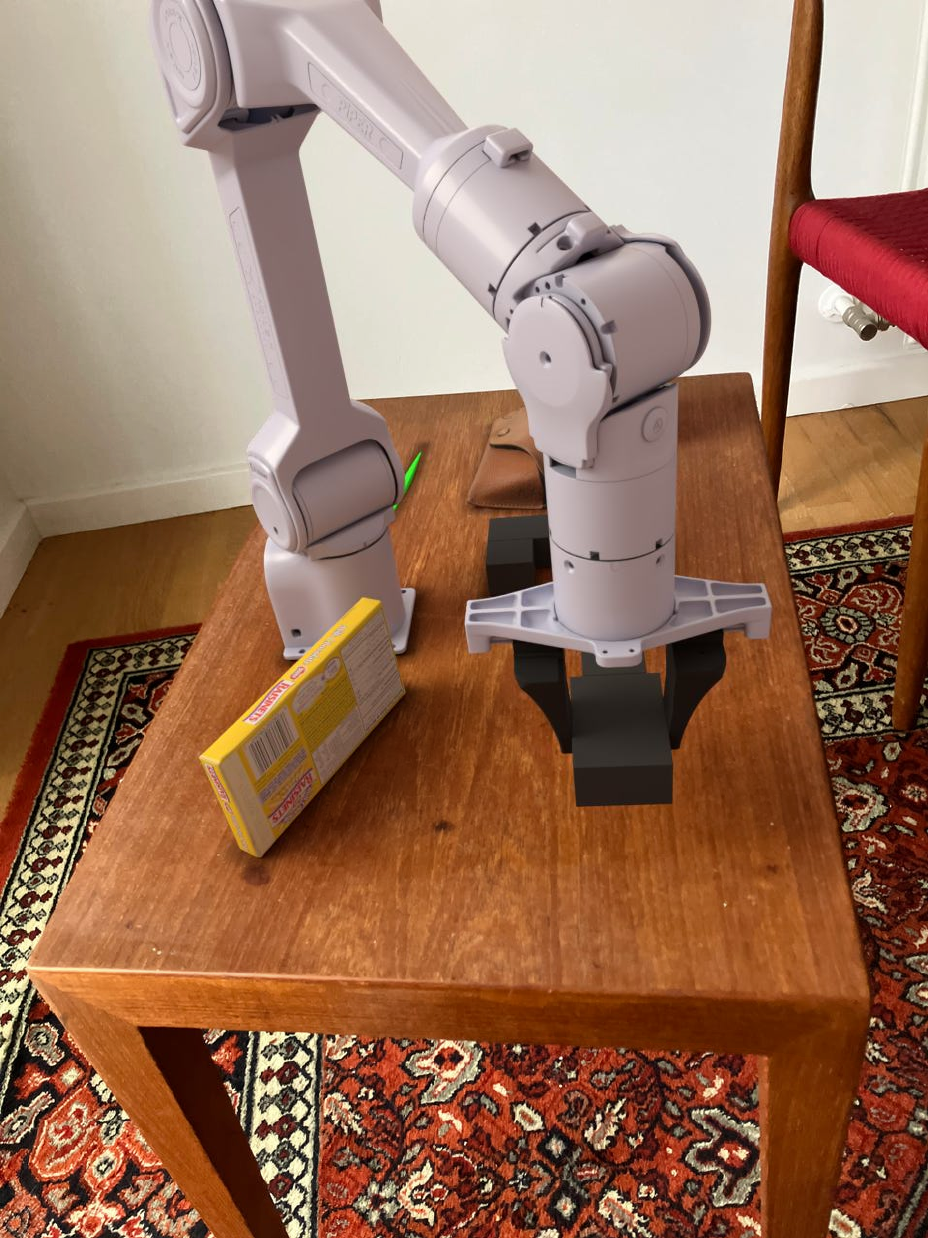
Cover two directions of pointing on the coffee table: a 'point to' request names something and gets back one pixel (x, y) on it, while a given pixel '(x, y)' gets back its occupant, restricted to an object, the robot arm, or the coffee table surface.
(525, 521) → the notch pad
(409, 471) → the green spindle
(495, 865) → the coffee table surface
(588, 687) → the pad
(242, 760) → the candy box
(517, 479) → the sunglasses case
